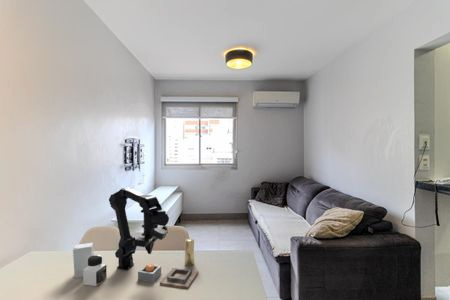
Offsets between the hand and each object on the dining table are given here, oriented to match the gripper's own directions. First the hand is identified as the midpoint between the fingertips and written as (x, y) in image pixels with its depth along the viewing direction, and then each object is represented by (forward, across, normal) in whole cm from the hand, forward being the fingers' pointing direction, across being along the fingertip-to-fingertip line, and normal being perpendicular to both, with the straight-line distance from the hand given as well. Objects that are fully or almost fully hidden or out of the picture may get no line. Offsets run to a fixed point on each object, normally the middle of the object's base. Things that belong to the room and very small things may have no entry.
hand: (149, 253), depth 122 cm
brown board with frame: (+11, +2, -15) cm, 19 cm away
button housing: (+12, 0, 0) cm, 12 cm away
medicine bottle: (+12, -10, +23) cm, 28 cm away
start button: (+9, 0, 0) cm, 9 cm away
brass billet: (+12, +17, -14) cm, 25 cm away
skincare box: (+12, -6, +33) cm, 35 cm away
